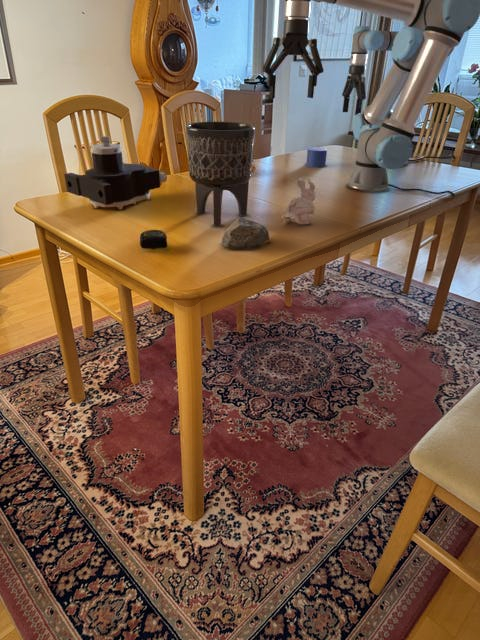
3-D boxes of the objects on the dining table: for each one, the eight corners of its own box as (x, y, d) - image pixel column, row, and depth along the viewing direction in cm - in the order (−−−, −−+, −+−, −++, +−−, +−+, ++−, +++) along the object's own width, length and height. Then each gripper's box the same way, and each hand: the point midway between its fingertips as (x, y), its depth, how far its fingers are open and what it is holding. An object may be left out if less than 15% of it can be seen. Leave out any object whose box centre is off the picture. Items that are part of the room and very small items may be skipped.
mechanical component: (57, 135, 140) (135, 127, 160) (69, 203, 151) (140, 187, 171) (98, 144, 128) (177, 134, 148) (107, 217, 139) (180, 198, 159)
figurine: (321, 218, 142) (325, 177, 135) (298, 231, 131) (302, 187, 125) (298, 213, 146) (301, 173, 139) (274, 225, 135) (277, 182, 128)
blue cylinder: (318, 168, 208) (319, 151, 204) (302, 165, 213) (303, 148, 209) (329, 165, 213) (331, 149, 210) (313, 162, 219) (315, 146, 215)
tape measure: (140, 252, 115) (139, 238, 113) (141, 242, 120) (140, 229, 119) (167, 251, 116) (166, 237, 114) (167, 241, 121) (166, 228, 120)
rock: (255, 233, 128) (256, 211, 124) (276, 242, 122) (278, 219, 119) (217, 244, 120) (217, 220, 117) (239, 254, 115) (239, 230, 111)
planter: (175, 218, 139) (170, 125, 125) (214, 204, 153) (213, 119, 139) (227, 232, 129) (227, 132, 116) (263, 215, 143) (268, 125, 130)
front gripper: (327, 21, 142) (320, 96, 153) (253, 18, 135) (251, 97, 146) (339, 20, 136) (331, 98, 147) (262, 16, 129) (259, 99, 140)
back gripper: (338, 64, 225) (333, 110, 235) (363, 65, 204) (356, 116, 215) (352, 64, 226) (346, 110, 237) (378, 65, 206) (370, 116, 216)
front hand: (291, 98), depth 146 cm, fingers open, 13 cm apart
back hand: (351, 113), depth 226 cm, fingers open, 13 cm apart
